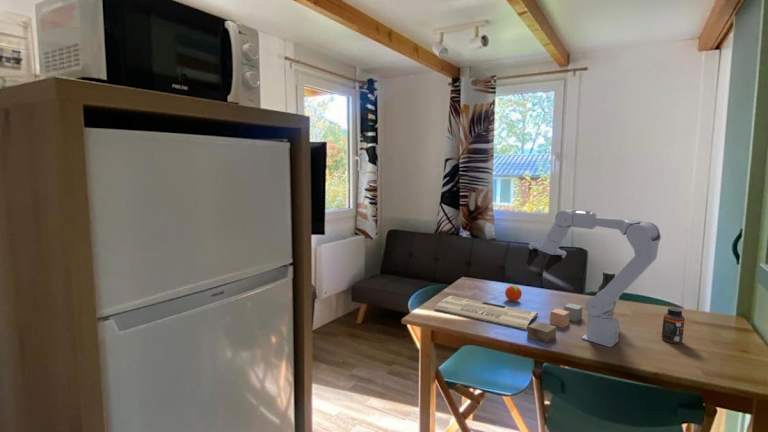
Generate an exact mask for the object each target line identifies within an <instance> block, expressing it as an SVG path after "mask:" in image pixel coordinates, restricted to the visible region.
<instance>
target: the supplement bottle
mask: <svg viewBox="0 0 768 432" xmlns="http://www.w3.org/2000/svg"><path fill="white" fill-rule="evenodd" d="M682 314H683V310H682V309H681V308H677V307H672V306H671V307H667V312H666V313H664V315H663V321H662V329H661V330H662V331H661V339H662V340H663V341H665V342H667V343H671V344H675V343H679V344H681V343H683V340H684V339H683V338H684V330H685V320H686V319H685V317H684V316H683V315H682Z"/></svg>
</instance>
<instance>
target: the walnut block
mask: <svg viewBox="0 0 768 432" xmlns="http://www.w3.org/2000/svg"><path fill="white" fill-rule="evenodd" d="M526 331H527V332H526V333H527V335H526V338H527V339H531V340H534V341H537V342H541V343H544V344H549V343H550V342H551V341H553V340H555V339H556V338H557V337H556V336H557V326H555V325H552V324H550V323H546V322H545V323H544V322H542V321H538V320H537V321H534V322H533V323H531V324H528V326H527V330H526Z"/></svg>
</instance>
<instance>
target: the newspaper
mask: <svg viewBox="0 0 768 432" xmlns="http://www.w3.org/2000/svg"><path fill="white" fill-rule="evenodd" d="M434 310H435V311H439V312H444V313H448V314H453V315H457V316H458V315H459V316H462V317H467V318H471V319H476V320H479V321H485V322H489V323H492V324H497V325H498V324H499V325H503V326H508V327H512V328H515V329H521V330H525V331H528V326H529V325H530V322H531V321H532V320H533V319H535V318H537V317H538V315H539V312H538V311H537V312H536V311H531V310H528V309H522V308H517V307H511V306H507V305H501V304H496V303H491V302H490V303H489V302H486V301H480V300H476V299H471V298H465V297H460V296H454V295H449V296H447V297H445V298H444V299H442V300H441V301H439V302H438V303H437V304H436V305H435V306H434Z"/></svg>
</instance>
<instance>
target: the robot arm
mask: <svg viewBox="0 0 768 432" xmlns="http://www.w3.org/2000/svg"><path fill="white" fill-rule="evenodd" d="M643 222H644V221H643V220H639V219H631V218H630V219H629V218H622V217H621V218H618V217H605V216H603V217H602V216H598V215H597V214H596V213H595V212H592V211H591V210H590V209H589V210H585V211H579V210H576V209H567V210H560V211H558V212H557V213H556V214H555V217H554V222H553V224H552V226H551V228H550V229H549V231H548V233H547V234H546V235H545V238H544V240H543V241H542V242H532V241H530V242H529V243H528V245H527V246H528V257H527V261H526V264H527V266H528V267H531V266H532V264H533V263H534V261H535V260H536V259H537V258H538V257H539V256H540V254H539V251H540V252H543V253H546V254H549V255H550V256H549V257H548V259H547V261H546V263H545V264H544V269H545V271H549V270H550V269H551V268H552V267H554V266H555V265H557V264H559V263H561V262H562V261H563V259H565V257H566V256H567V252H566V251H565V250H562V249H561V248H560V246H561V244H562V243H563V241H564V239H565V238H566V237H567V235H568V233H569V231H570V230H571V228H572V227H573V228H578V229H579V228H580V229H586V230H587V229H588V230H593V229H595V228H596V227H598V228H599V227H601V228H607V229H612V230H618V231H619V233H620V234H622V236H625V237H626V239H627V241H628V243H629V244H630V245H631V247H632V249H633V253H634V256H632V258H631V260H629V261H628V262H627V263H626V265H625V266H623V268H622V269H621V270H620V271H619V272H618V273H617V274H615V277H614V279H613V280H612V281H611V282H610V283H609V284H608V285H607V286H606V287H605V288H604V289H603V290H601V291H600V292H599V293H598V292H597V293H596V294H595V295H594V296H593V297H588V299H586V300H585V302H584V308H585V310H586V312H587V320H586V333H585V334H584V335H583V336H581V339H582V340H584V341H585V340H586V341H589V342H592V343H595V344H598V345H602V346H605V347H607V348H608V347H609V348H612V347H613V346H614V345H615V344H617V342H618V341H619V331H620V321H619V319H618V318H617V317H614V316H613V317H612V314H611V310H613V309H614V310H615V308H616V304H617V302H618V301H619V300H620V297H621V296H622V294H624V292H626V290H627V289H629V287H630V286H631V285H632V284H633V283H634V282H635V281H636V280H637V279H638V278H639V277H640V276H641V275H642V274H643V273H644V272H645V271H646V270H647V269H648V268H649V267H650V266H651V265H652V264H653V263H654V262H655V260H656V259H657V256H658V250H659V246H660V241H661V239H662V236H661V233H660V229H659V227H658V226H657V225H656V224H655V223H653V222H651V221H649V222H646V221H645V222H644V223H643Z"/></svg>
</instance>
